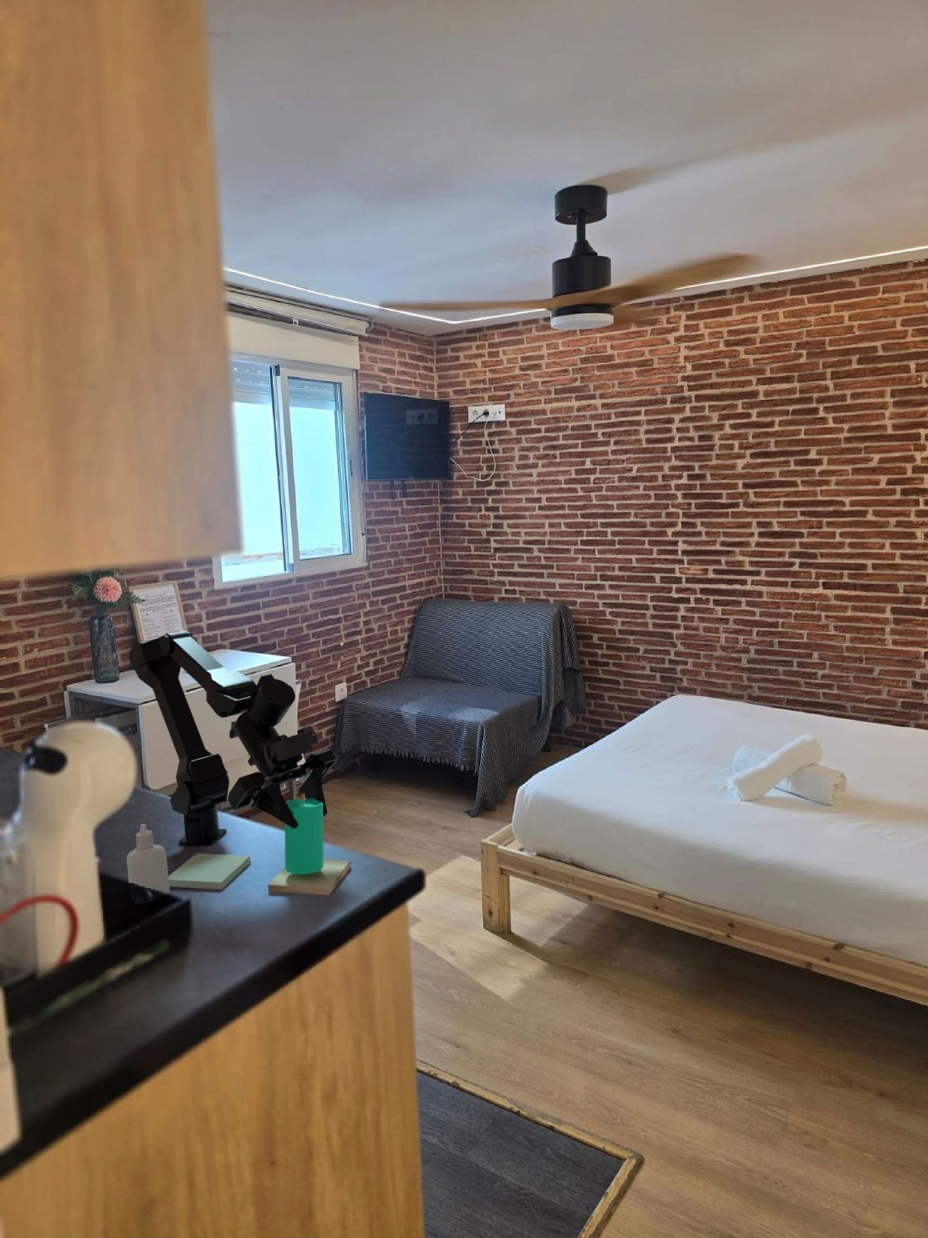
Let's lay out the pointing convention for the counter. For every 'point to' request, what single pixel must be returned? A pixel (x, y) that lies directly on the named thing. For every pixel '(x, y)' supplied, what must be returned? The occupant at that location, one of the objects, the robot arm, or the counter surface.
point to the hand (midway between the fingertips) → (311, 821)
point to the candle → (304, 837)
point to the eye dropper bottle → (148, 863)
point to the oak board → (311, 879)
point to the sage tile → (208, 871)
